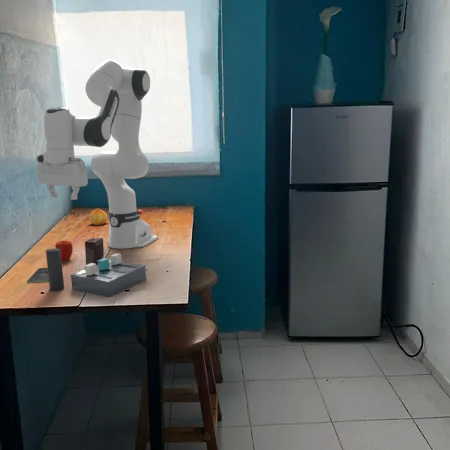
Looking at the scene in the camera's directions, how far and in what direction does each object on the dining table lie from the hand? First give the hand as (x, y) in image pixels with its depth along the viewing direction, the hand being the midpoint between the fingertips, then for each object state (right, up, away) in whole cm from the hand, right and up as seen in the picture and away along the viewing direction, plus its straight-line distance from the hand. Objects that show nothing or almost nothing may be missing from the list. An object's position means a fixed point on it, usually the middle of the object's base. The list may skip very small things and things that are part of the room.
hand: (63, 198), depth 180 cm
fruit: (-8, -9, +83) cm, 84 cm away
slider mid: (+14, -23, -4) cm, 28 cm away
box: (+9, -26, +9) cm, 29 cm away
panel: (+16, -29, -3) cm, 33 cm away
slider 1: (+11, -24, -9) cm, 28 cm away
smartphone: (-10, -27, +8) cm, 30 cm away
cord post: (0, -30, -6) cm, 30 cm away
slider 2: (+17, -22, +1) cm, 28 cm away
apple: (-7, -22, +25) cm, 35 cm away
